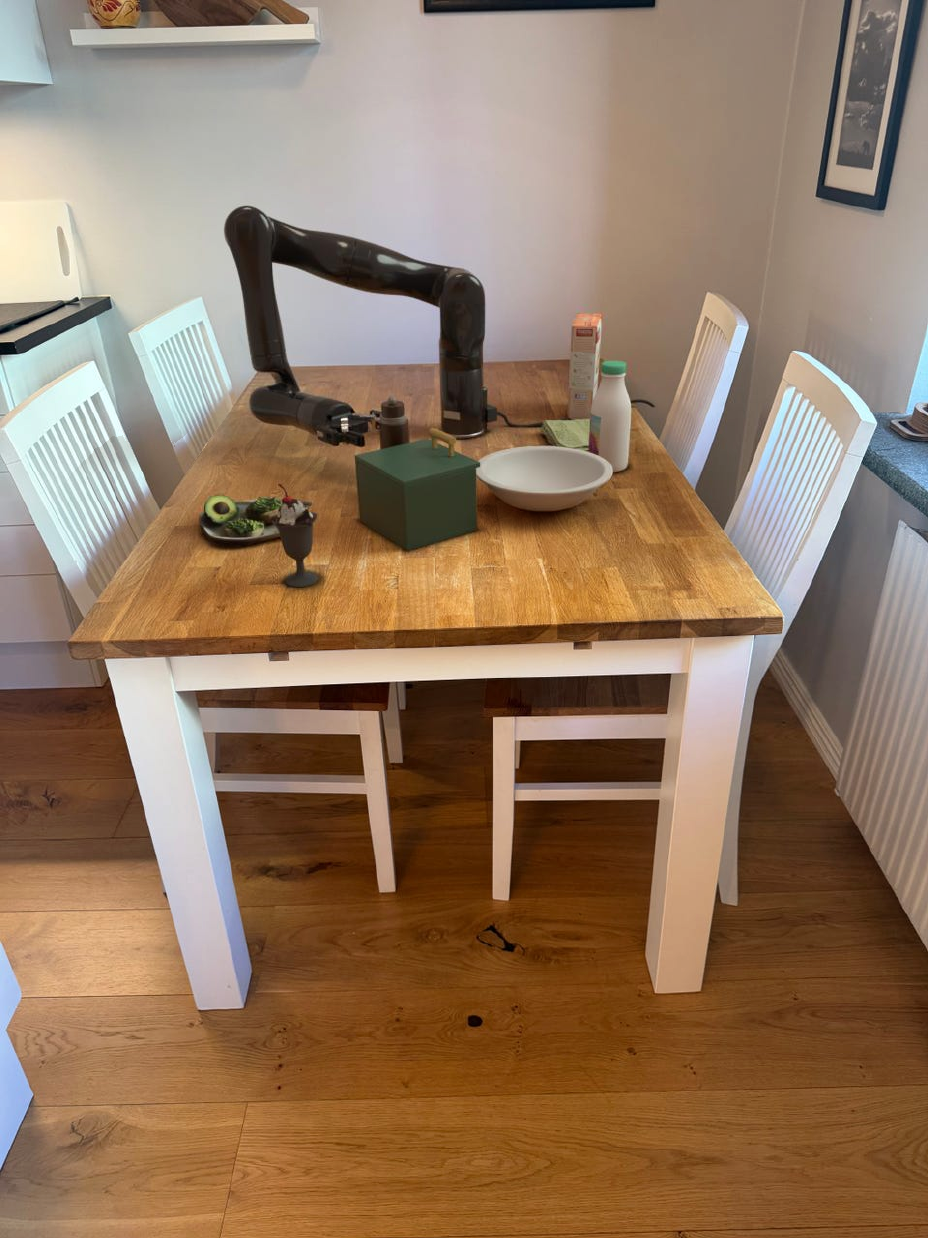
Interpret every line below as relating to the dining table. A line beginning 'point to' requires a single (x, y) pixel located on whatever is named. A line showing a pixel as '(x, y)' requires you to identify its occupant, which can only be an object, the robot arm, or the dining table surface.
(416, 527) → the bin
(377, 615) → the dining table surface
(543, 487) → the soup bowl
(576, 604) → the dining table surface
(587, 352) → the cracker box
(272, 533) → the salad plate
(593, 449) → the milk bottle
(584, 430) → the washcloth
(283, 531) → the sundae
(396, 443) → the pepper mill
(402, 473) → the bin lid
